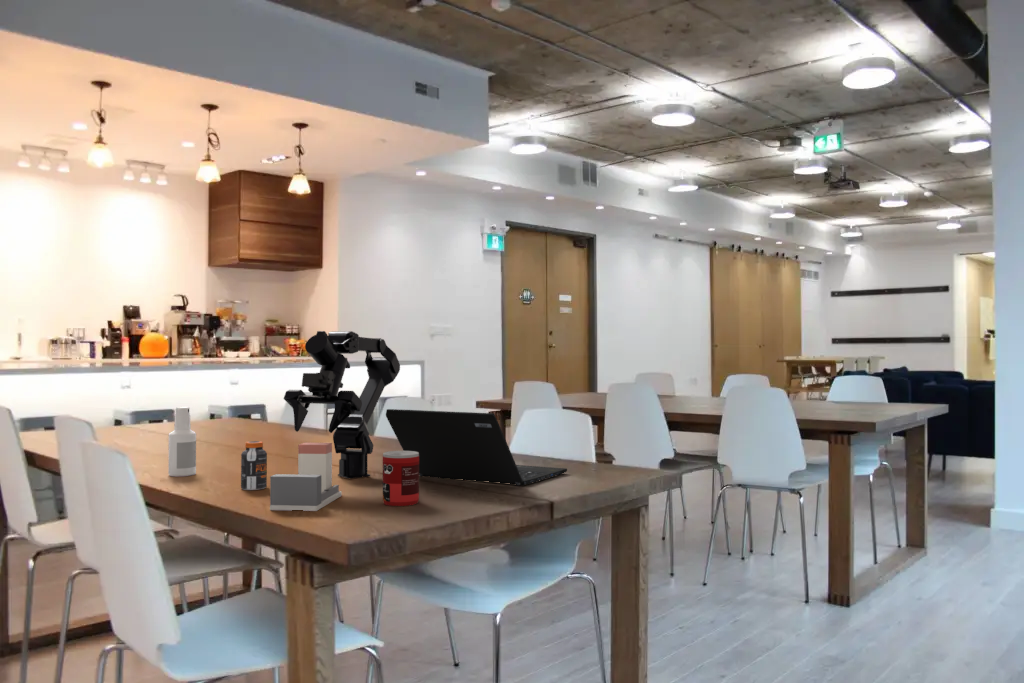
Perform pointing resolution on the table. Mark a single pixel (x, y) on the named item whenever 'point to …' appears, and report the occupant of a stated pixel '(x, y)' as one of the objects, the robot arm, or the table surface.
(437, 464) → the laptop
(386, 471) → the canned food
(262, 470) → the pill bottle
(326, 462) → the cream and pink block
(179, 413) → the spray bottle
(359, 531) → the table surface
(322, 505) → the grey and white holder
